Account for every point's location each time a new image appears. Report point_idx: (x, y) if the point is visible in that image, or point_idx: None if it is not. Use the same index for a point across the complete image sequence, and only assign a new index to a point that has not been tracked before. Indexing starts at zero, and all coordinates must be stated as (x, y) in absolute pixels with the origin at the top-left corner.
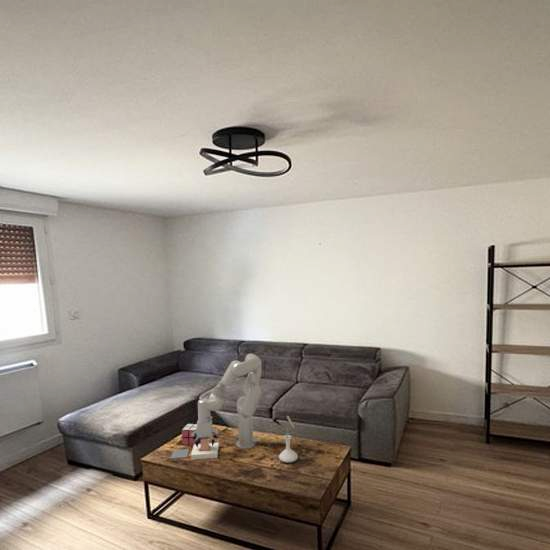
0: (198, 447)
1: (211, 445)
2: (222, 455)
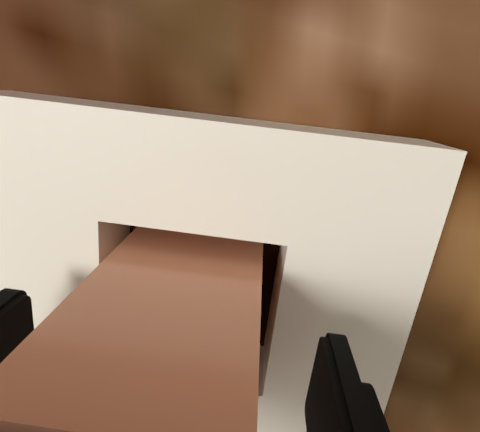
0: (63, 247)
1: (300, 244)
2: (421, 391)
